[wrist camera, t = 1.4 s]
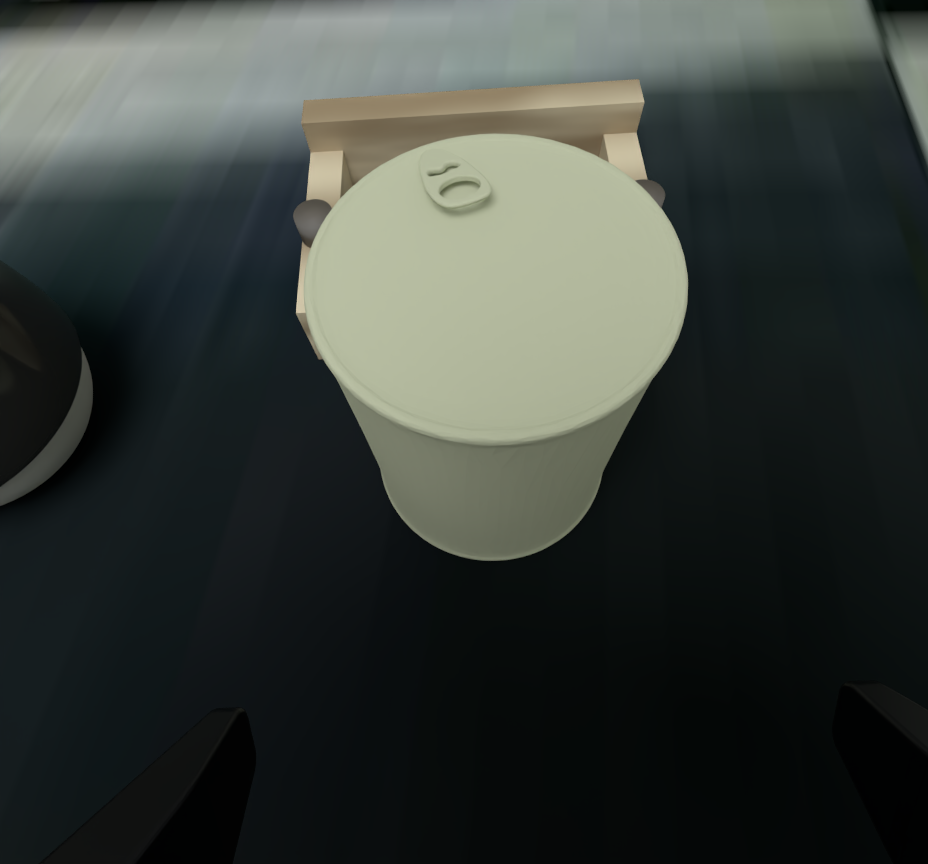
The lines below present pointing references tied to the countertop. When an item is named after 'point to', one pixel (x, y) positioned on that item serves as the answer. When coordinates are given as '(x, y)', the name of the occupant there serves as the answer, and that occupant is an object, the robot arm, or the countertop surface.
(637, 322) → the can
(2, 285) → the pump dispenser
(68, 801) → the countertop surface
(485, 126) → the frame
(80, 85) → the countertop surface
